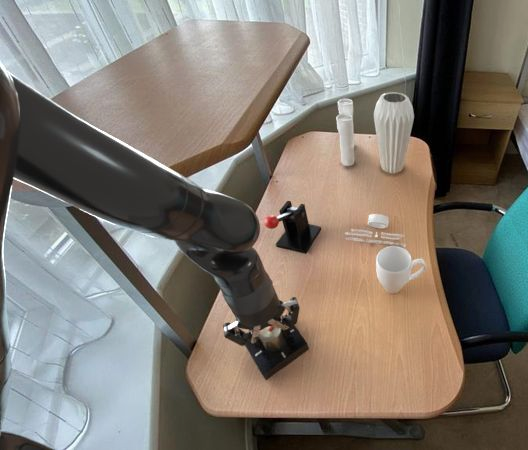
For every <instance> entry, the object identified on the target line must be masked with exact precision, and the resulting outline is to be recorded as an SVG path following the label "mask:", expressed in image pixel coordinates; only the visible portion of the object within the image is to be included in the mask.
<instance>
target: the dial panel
mask: <svg viewBox="0 0 528 450" xmlns="http://www.w3.org/2000/svg"><path fill="white" fill-rule="evenodd" d="M284 316H285V317H287V316H288V313H287V314H284ZM289 328H290V331H291V335H289V338H287V339H286V343H285V345H284V347H283V348H282V349H281V350H280V351H278V352H274V353H272V352H268V351H267V350H266V349H265V347H264V349H261V350H260V348H258V349H257V348H255V346H254V345H253V343H251V342H248V343H247V344H246V345H245V348H246V350H247V351H248V353H249V354H250V356H251V358H252V360H253V362H254V363H255V365H256V367H257V369H258V371H259V372H260V374H261V376H262V377H263V378H264V380H265V381H268V380H269V379H271V378H272V377H273V376H274V375H276V374H278V373H279V372H280V371H282V370H283V369H284V368H286V367H287V366H288V365H290V364H291V363H293V362H294V361H296V360H297V359H298V358H299V357H301V356H302V355H304V354H305V353H307V352H308V351H309V350H310V347H309V344H308V341H306V339H305V337H304V336H303V335H302V334H301V332H300V331H299V330H298V328H297V327H296V324H295V325H290V326H289Z"/></svg>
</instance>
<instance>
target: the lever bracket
mask: <svg viewBox="0 0 528 450" xmlns="http://www.w3.org/2000/svg"><path fill="white" fill-rule="evenodd" d="M292 206H293V205H292V201H291V200H286V202H285V203H284V204H283V205H282V207H281V208H280V209H279V210H278V211H279V212H278V213H279V216H280V215H282V214H284V213H287V209H288V208H290V207H292ZM297 208H298V209H297V210H296V211H295V213H294V214H293V215H294V219H293V218H287V219H285V220H282V221H281V222H282V226H283V229H284V232H283V233H282V235H281V236H280V238H279V239H278V241H276V243H275V246H276V248H280V249H284V250H288V251H292V252H296V253H300V254H305V255H307V253H308V252H309V251H310V250H311V247H312V245H314V243H315V241H316V239H317V238H318V237H319V234H320V233H321V231H322V226H320V225H316V224H312V223H309V219H308V215H307V209H306V204H304V203H300V205H299V206H298V207H297Z"/></svg>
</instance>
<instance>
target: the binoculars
mask: <svg viewBox="0 0 528 450" xmlns="http://www.w3.org/2000/svg"><path fill="white" fill-rule="evenodd" d="M337 109H338V115H336V116H335V120H336V128H337V133H338V135H339V136H338V137H339V150H340V161H341V164H342V165H343V166H345V167H350V166H353V165H355V154H354V153H355V152H354V148H355V146H356V145H355V142H356V141H355V133H354V131H355V129H354V101H353V100H352V99H350V98H341V99H339V100H338V101H337Z"/></svg>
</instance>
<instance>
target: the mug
mask: <svg viewBox="0 0 528 450" xmlns="http://www.w3.org/2000/svg"><path fill="white" fill-rule="evenodd" d="M417 265H422V266H421V268H419V269H418V270H416V271H415V272H413V273H412V269H413V268H414V267H415V266H417ZM426 265H427V264H426V262H425V260H424V259H423V258H415V259H413V260H412V256H411V254H410V252H409V251H408V250H407V249H406V248H405V247H403V246H398V245H393V246H392V245H389V246H386V247H383V248H382V249H381V250H379V251H378V253H377V254H376V258H375V271H376V277H377V280H378V282H379V283H380V285H381V286H382V288H383V289H384V290H385V292H386V293H387V294H390V295H391V294H392V295H394V294H398V293H399V292H400V291H401V290H402V289H403V287H405V286H406V284H407V283H408V282H411V281H413V280H414V279H416V278H418V277H420V276H421V275H423V273H425V271H426V268H427V266H426ZM411 273H412V274H411Z"/></svg>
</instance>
